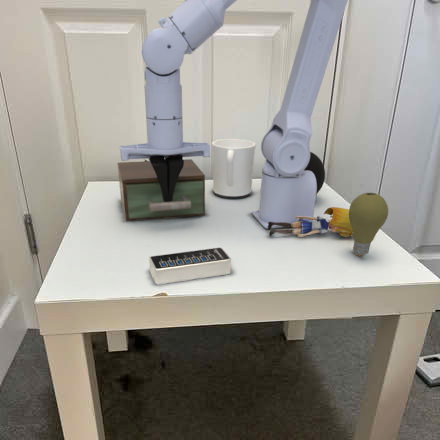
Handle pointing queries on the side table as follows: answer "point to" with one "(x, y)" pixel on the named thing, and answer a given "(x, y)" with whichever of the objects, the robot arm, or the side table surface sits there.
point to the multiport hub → (189, 265)
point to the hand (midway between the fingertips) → (167, 200)
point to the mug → (232, 167)
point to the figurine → (318, 224)
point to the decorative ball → (316, 170)
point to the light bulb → (366, 220)
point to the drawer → (154, 204)
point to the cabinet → (146, 173)
